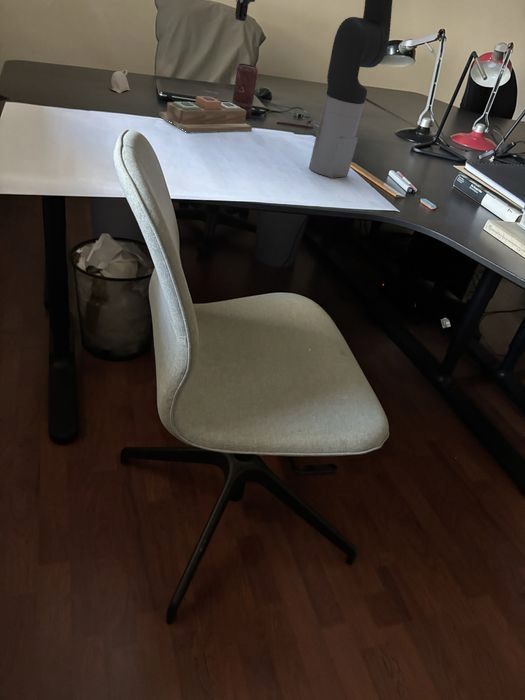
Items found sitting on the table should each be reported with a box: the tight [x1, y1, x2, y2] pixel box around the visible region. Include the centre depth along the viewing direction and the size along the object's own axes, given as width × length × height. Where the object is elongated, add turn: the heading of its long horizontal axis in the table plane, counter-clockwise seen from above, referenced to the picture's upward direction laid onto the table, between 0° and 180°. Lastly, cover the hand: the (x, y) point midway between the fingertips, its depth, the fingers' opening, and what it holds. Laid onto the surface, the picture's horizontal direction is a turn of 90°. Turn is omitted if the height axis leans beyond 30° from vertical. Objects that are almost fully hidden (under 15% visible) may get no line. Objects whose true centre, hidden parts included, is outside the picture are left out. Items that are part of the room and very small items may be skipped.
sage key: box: [173, 101, 200, 110], centre depth 139 cm, size 5×5×3 cm
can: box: [231, 63, 259, 120], centre depth 156 cm, size 6×6×14 cm
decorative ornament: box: [110, 69, 131, 94], centre depth 157 cm, size 4×8×5 cm, turn 162°
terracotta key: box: [195, 95, 223, 110], centre depth 143 cm, size 5×5×3 cm
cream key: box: [221, 101, 241, 110], centre depth 148 cm, size 5×5×3 cm
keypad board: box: [158, 101, 253, 133], centre depth 145 cm, size 14×22×4 cm, turn 130°
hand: (240, 20), depth 132 cm, fingers closed
